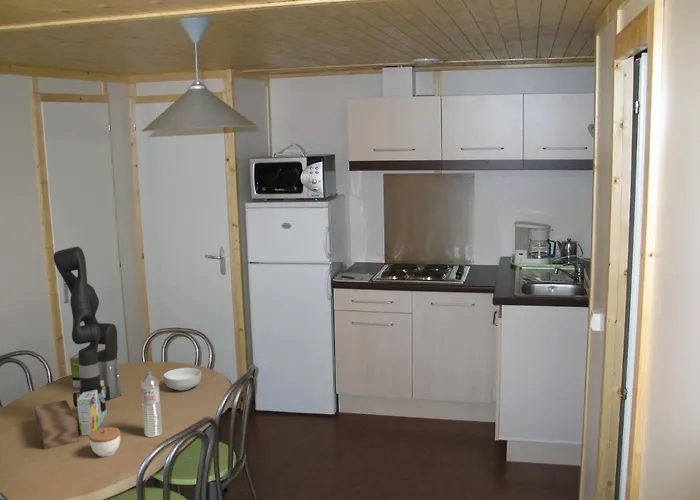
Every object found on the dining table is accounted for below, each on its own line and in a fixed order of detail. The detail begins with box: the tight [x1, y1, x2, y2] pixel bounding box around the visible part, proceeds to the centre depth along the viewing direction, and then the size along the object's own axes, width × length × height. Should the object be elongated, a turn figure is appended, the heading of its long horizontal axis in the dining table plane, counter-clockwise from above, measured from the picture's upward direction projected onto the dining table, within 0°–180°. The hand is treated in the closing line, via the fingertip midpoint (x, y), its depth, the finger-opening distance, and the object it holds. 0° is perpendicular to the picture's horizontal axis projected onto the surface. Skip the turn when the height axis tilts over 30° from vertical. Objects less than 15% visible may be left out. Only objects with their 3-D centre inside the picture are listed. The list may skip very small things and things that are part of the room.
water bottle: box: [139, 371, 163, 438], centre depth 267 cm, size 7×7×25 cm
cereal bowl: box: [163, 367, 202, 392], centre depth 317 cm, size 17×17×7 cm
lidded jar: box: [88, 426, 121, 458], centre depth 253 cm, size 11×11×9 cm
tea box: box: [69, 347, 105, 389], centre depth 327 cm, size 15×10×15 cm, turn 172°
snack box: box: [76, 380, 108, 437], centre depth 277 cm, size 21×6×15 cm, turn 5°
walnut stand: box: [34, 399, 80, 450], centre depth 271 cm, size 12×26×8 cm, turn 30°
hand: (93, 413), depth 278 cm, fingers closed on snack box, 7 cm apart
